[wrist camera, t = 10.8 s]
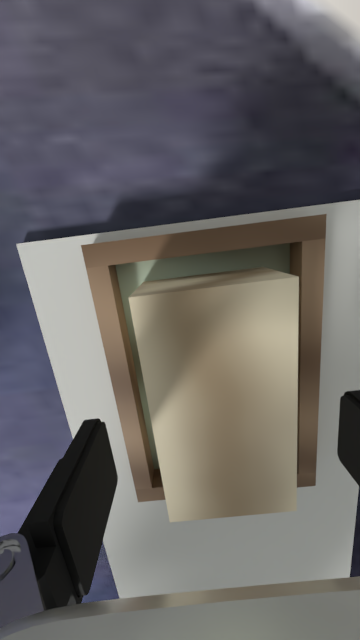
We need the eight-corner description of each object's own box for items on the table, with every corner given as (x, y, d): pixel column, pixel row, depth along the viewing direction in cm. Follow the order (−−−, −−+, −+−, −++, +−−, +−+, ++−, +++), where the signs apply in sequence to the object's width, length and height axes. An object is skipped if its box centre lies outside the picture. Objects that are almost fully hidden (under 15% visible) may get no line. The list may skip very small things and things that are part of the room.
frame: (303, 464, 16) (315, 485, 15) (141, 480, 17) (138, 502, 15) (309, 217, 12) (326, 213, 11) (92, 245, 13) (80, 245, 11)
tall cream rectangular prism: (262, 266, 13) (298, 276, 9) (268, 446, 16) (296, 510, 12) (143, 281, 13) (128, 297, 9) (172, 455, 16) (169, 522, 12)
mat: (343, 586, 21) (347, 594, 20) (125, 603, 21) (123, 612, 21) (381, 197, 12) (389, 195, 12) (22, 244, 13) (16, 244, 13)
